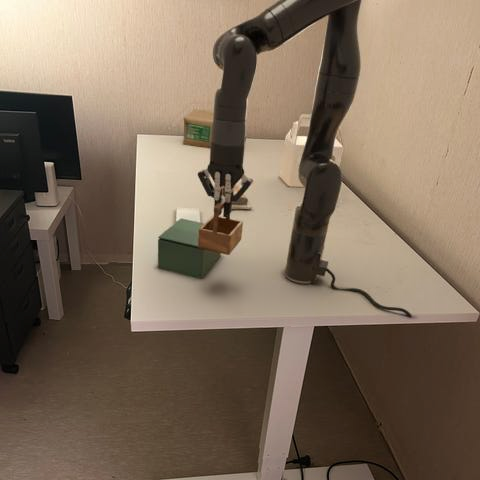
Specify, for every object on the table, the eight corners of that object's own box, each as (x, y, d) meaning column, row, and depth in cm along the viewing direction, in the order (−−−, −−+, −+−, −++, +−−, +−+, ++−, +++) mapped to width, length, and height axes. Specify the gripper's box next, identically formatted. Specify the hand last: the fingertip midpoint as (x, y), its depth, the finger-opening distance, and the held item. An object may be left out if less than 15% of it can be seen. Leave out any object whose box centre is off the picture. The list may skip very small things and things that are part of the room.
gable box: (287, 186, 199) (298, 117, 183) (278, 176, 209) (288, 110, 194) (335, 187, 204) (350, 120, 188) (324, 178, 214) (337, 113, 199)
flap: (180, 219, 135) (180, 218, 134) (222, 228, 132) (222, 227, 132) (170, 228, 129) (170, 227, 129) (213, 238, 126) (213, 237, 126)
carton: (180, 247, 140) (180, 218, 134) (220, 256, 137) (222, 227, 132) (158, 268, 128) (157, 236, 122) (201, 278, 125) (203, 247, 120)
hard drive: (200, 222, 153) (199, 208, 163) (175, 221, 152) (176, 207, 162) (200, 227, 154) (199, 212, 164) (175, 225, 153) (176, 211, 163)
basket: (211, 233, 120) (214, 191, 114) (241, 239, 118) (245, 197, 112) (197, 248, 112) (199, 204, 106) (229, 255, 110) (233, 210, 104)
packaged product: (216, 181, 180) (240, 181, 183) (215, 193, 183) (239, 193, 185) (226, 197, 166) (253, 197, 168) (225, 210, 168) (251, 210, 171)
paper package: (181, 144, 239) (182, 115, 231) (194, 134, 260) (195, 107, 252) (232, 152, 237) (235, 123, 229) (241, 141, 258) (243, 114, 250)
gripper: (192, 138, 100) (190, 215, 109) (253, 149, 97) (244, 226, 107) (205, 132, 106) (201, 205, 115) (262, 141, 103) (253, 215, 113)
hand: (222, 215), depth 111 cm, fingers closed on basket, 1 cm apart
